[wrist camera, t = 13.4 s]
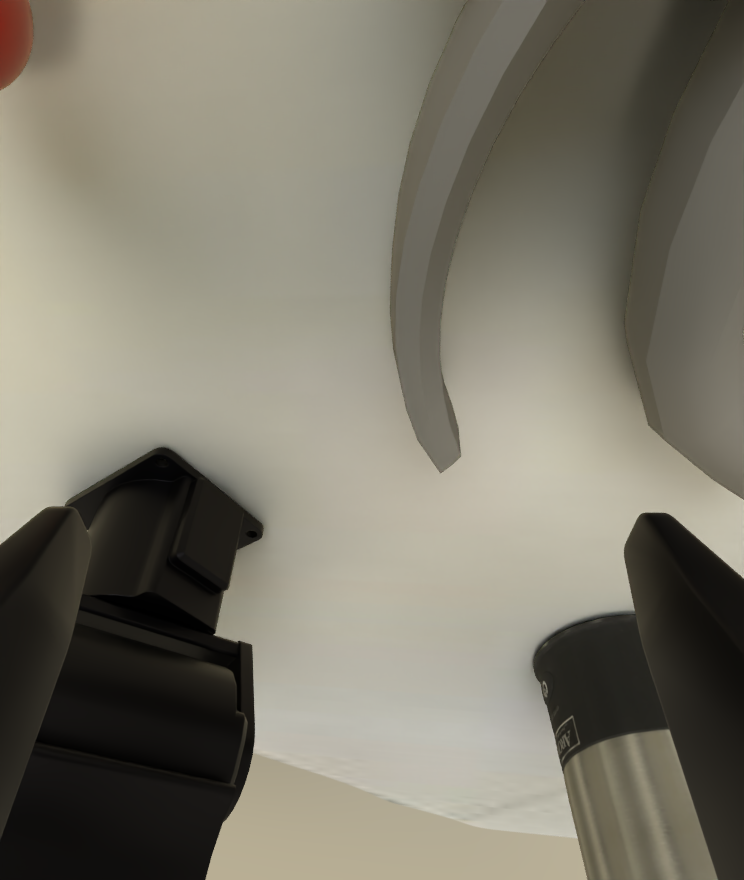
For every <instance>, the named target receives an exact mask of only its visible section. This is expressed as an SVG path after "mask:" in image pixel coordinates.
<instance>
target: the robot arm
mask: <svg viewBox="0 0 744 880" xmlns="http://www.w3.org/2000/svg"><path fill="white" fill-rule="evenodd" d="M160 458H162V459H165V460H166V461H165V460H161V459H160ZM87 530H88V532H87ZM263 530H264V528H263V525H262V524H261V523H260V522H259V521H258V520H256V519H255V518H254V517H253V516H251V515H250V514H249V513H248V512H247V511H245V510H244V509H243V508H242V507H240V506H239V505H238V504H237V503H236V502H234V501H233V500H232V499H231V498H229V497H228V496H227V495H226V494H225V493H223V492H222V491H221V490H220V489H218V488H217V487H216V486H215V485H214V484H212V483H211V482H210V481H209V480H207V479H206V478H205V477H204V476H203V475H201V474H200V473H199V472H198V471H196V470H195V469H194V468H193V467H191V466H190V465H189V464H188V463H187V462H185V461H184V460H183V459H182V458H180V457H179V456H178V455H177V454H176V453H174V452H173V451H172V450H170V449H168V448H164V447H159V448H156V449H154V450H152V451H150V452H149V453H147V454H145V455H144V456H142V457H140V458H139V459H137V460H135V461H133V462H132V463H130V464H128V465H127V466H125V467H123V468H122V469H120V470H118V471H117V472H115V473H113V474H112V475H110V476H108V477H106V478H105V479H103V480H101V481H100V482H98V483H96V484H95V485H93V486H91V487H90V488H88V489H86V490H84V491H83V492H81V493H79V494H78V495H76V496H74V497H73V498H71V499H69V500H68V501H67V502H66V504H65V506H64V507H48V508H45V509H44V510H42V511H41V512H40V513H38V514H37V515H36V516H35V517H34V518H32V519H31V520H30V521H29V522H27V523H26V524H25V525H24V526H23V527H21V528H20V529H19V530H18V531H16V532H15V533H14V534H13V535H12V536H10V537H9V538H8V539H7V540H5V541H4V542H3V543H2V544H1V545H0V880H205V879H206V875H207V871H208V867H209V863H210V859H211V856H212V853H213V850H214V847H215V844H216V841H217V838H218V835H219V832H220V829H221V826H222V823H223V822H224V821H225V820H226V819H227V818H228V816H229V815H230V813H231V812H232V811H233V809H234V807H235V805H236V803H237V801H238V799H239V797H240V795H241V792H242V789H243V787H244V785H245V781H246V778H247V775H248V772H249V768H250V764H251V759H252V755H253V748H254V739H255V718H254V686H253V654H252V645H251V644H248V643H245V642H242V641H238V642H234V641H231V640H228V639H225V638H221V637H218V636H215V635H213V634H215V632H216V627H217V623H218V618H219V613H220V608H221V603H222V599H223V594H224V591H225V590H228V588H229V585H230V580H231V575H232V570H233V565H234V560H235V555H236V551H237V550H238V549H240V548H242V547H244V546H247V545H249V544H251V543H253V542H255V541H257V540H259V539H261V538H262V535H263ZM624 558H625V564H626V569H627V574H628V579H629V583H630V588H631V593H632V598H633V603H634V608H635V613H636V618H637V623H638V628H639V633H640V637H641V641H642V646H643V649H644V652H645V656H646V659H647V662H648V665H649V668H650V672H651V675H652V678H653V681H654V684H655V687H656V690H657V693H658V696H659V699H660V702H661V706H662V709H663V712H664V715H665V718H666V721H667V724H668V727H669V730H670V733H671V737H672V740H673V743H674V746H675V749H676V752H677V755H678V758H679V761H680V764H681V767H682V771H683V774H684V777H685V780H686V783H687V786H688V789H689V792H690V795H691V798H692V801H693V805H694V808H695V811H696V814H697V817H698V820H699V823H700V826H701V829H702V832H703V835H704V839H705V842H706V845H707V848H708V851H709V854H710V857H711V860H712V863H713V866H714V870H715V873H716V876H717V879H718V880H744V579H743V578H742V577H741V576H740V575H739V574H738V573H737V572H735V571H734V570H733V569H732V568H731V567H730V566H729V565H727V564H726V563H725V562H724V561H723V560H722V559H721V558H719V557H718V556H717V555H716V554H715V553H714V552H713V551H711V550H710V549H709V548H708V547H707V546H706V545H705V544H703V543H702V542H701V541H700V540H699V539H698V538H696V537H695V536H694V535H693V534H692V533H691V532H690V531H688V530H687V529H686V528H685V527H684V526H683V525H682V524H680V523H679V522H678V521H677V520H676V519H675V518H674V517H672V516H671V515H669V514H667V513H642V514H641V515H640V516H639V517H638V518H637V520H636V523H635V525H634V527H633V529H632V531H631V533H630V535H629V537H628V539H627V541H626V544H625V548H624Z"/></svg>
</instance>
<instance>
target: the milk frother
mask: <svg viewBox="0 0 744 880" xmlns="http://www.w3.org/2000/svg"><path fill="white" fill-rule="evenodd" d="M533 668H534V672H535V676H536V678H537V679H538V681H539V682H540V683H541V688H542V694H543V697H544V701H545V704H546V705H547V708H548V712H549V716H550V720H551V724H552V728H553V732H554V735H555V740H556V745H557V751H558V755H559V759H560V763H561V766H562V771H563V774H564V779H565V784H566V789H567V793H568V798H569V803H570V807H571V811H572V816H573V820H574V824H575V828H576V832H577V836H578V841H579V845H580V849H581V853H582V858H583V862H584V866H585V870H586V875H587V879H588V880H718V879H717V876H716V873H715V870H714V866H713V863H712V860H711V857H710V854H709V851H708V848H707V845H706V842H705V839H704V835H703V832H702V829H701V826H700V823H699V820H698V817H697V814H696V811H695V808H694V805H693V801H692V798H691V795H690V792H689V789H688V786H687V783H686V780H685V777H684V774H683V771H682V767H681V764H680V761H679V758H678V755H677V752H676V749H675V746H674V743H673V740H672V737H671V733H670V730H669V727H668V724H667V721H666V718H665V715H664V712H663V709H662V706H661V702H660V699H659V696H658V693H657V690H656V687H655V684H654V681H653V678H652V675H651V672H650V668H649V665H648V662H647V659H646V656H645V652H644V649H643V646H642V641H641V637H640V633H639V628H638V623H637V618H636V615H619V616H612V617H605V618H600V619H596V620H593V621H587V622H585V623H582V624H579V625H576V626H573V627H571V628H568V629H567V630H564V631H563V632H560V633H559V634H557V635H555V636H554V637H552V638H551V639H549V640H548V641H547V642H546V643H544V644H543V646H542V647H541V648H540V650H539V651H538V653H537V654H536V657H535V659H534V665H533Z"/></svg>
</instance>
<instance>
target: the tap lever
mask: <svg viewBox="0 0 744 880" xmlns="http://www.w3.org/2000/svg"><path fill="white" fill-rule="evenodd" d="M33 36H34V35H33V17H32V12H31V7H30V3H29V0H0V90H2V89H4V88H6V87H7V86H9V85H10V84H11V83H12V82H13V81H14V80H15V79H16V78H17V77H18V76H19V75H20V74H21V72H22V71H23V69H24V68H25V66H26V64H27V62H28V59H29V56H30V53H31V50H32V44H33Z"/></svg>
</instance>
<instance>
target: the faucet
mask: <svg viewBox="0 0 744 880" xmlns="http://www.w3.org/2000/svg"><path fill="white" fill-rule="evenodd" d="M584 1H585V0H467V2H466V3H465V5H464V7H463V9H462V11H461V13H460V15H459V16H458V18H457V20H456V23H455V25H454V27H453V30H452V32H451V34H450V36H449V39H448V41H447V43H446V46H445V48H444V50H443V53H442V55H441V57H440V60H439V62H438V64H437V67H436V69H435V71H434V74H433V76H432V78H431V80H430V83H429V86H428V89H427V92H426V95H425V98H424V101H423V104H422V107H421V110H420V113H419V116H418V119H417V122H416V125H415V128H414V131H413V135H412V138H411V141H410V145H409V149H408V154H407V158H406V163H405V168H404V172H403V177H402V181H401V186H400V191H399V195H398V203H397V212H396V221H395V229H394V238H393V248H392V264H391V294H390V316H391V328H392V340H393V350H394V355H395V360H396V364H397V369H398V374H399V378H400V383H401V388H402V392H403V396H404V401H405V405H406V409H407V412H408V415H409V418H410V420H411V423H412V426H413V429H414V431H415V434H416V437H417V440H418V441H419V443H420V444H421V446H422V447H423V449H424V450H425V452H426V453H427V454H428V456H429V457H430V459H431V460H432V462H433V463H434V465H435V466H436V468H437V469H438V470H439V472H440V473H442V472H443V471H444V470H446V469H447V468H448V467H450V466H451V465H452V464H453V463H454V462H455V461H457V460H458V459H459V458H460V457H461V452H460V440H459V429H458V425H457V421H456V417H455V413H454V410H453V406H452V403H451V400H450V397H449V395H448V392H447V389H446V386H445V383H444V379H443V375H442V371H441V361H440V323H441V314H442V307H443V299H444V292H445V284H446V280H447V275H448V271H449V267H450V263H451V259H452V255H453V251H454V247H455V243H456V239H457V236H458V233H459V230H460V227H461V224H462V221H463V219H464V216H465V213H466V210H467V207H468V204H469V201H470V198H471V195H472V193H473V190H474V188H475V186H476V183H477V181H478V179H479V176H480V174H481V172H482V169H483V167H484V165H485V162H486V160H487V158H488V156H489V153H490V151H491V149H492V146H493V144H494V142H495V141H496V139H497V137H498V135H499V133H500V131H501V129H502V128H503V126H504V124H505V122H506V120H507V118H508V116H509V114H510V113H511V111H512V109H513V107H514V105H515V103H516V101H517V100H518V98H519V96H520V94H521V92H522V91H523V89H524V88H525V86H526V85H527V83H528V82H529V80H530V79H531V77H532V76H533V74H534V73H535V71H536V69H537V68H538V66H539V65H540V63H541V62H542V60H543V59H544V57H545V56H546V54H547V53H548V51H549V50H550V48H551V46H552V45H553V43H554V42H555V40H556V39H557V38H558V36H559V35H560V34H561V32H562V31H563V30H564V28H565V27H566V26H567V24H568V23H569V21H570V20H571V19H572V17H573V16H574V15H575V13H576V12H577V11H578V9H579V8H580V7H581V5H582V4H583V3H584ZM710 1H711V0H710ZM624 325H625V332H626V338H627V344H628V348H629V352H630V356H631V360H632V364H633V368H634V372H635V375H636V379H637V383H638V387H639V391H640V395H641V399H642V402H643V406H644V410H645V414H646V418H647V422H648V425H649V426H650V427H651V428H652V429H653V430H654V431H655V432H656V433H658V434H659V435H660V436H661V437H662V438H663V439H664V440H665V441H666V442H667V443H669V444H670V445H671V446H672V447H674V448H675V449H676V450H677V451H678V452H680V453H681V454H682V455H683V456H684V457H686V458H687V459H688V460H689V461H691V462H692V463H693V464H694V465H695V466H697V467H698V468H699V469H700V470H702V471H703V472H704V473H705V474H706V475H708V476H709V477H710V478H711V479H713V480H714V481H716V482H717V483H719V484H720V485H722V486H723V487H725V488H726V489H728V490H730V491H731V492H733V493H734V494H736V495H737V496H739V497H740V498H742V499H743V500H744V339H743V330H744V0H729V1H728V3H727V5H726V7H725V9H724V11H723V13H722V15H721V17H720V19H719V21H718V23H717V25H716V27H715V29H714V31H713V33H712V36H711V38H710V40H709V42H708V44H707V46H706V48H705V50H704V52H703V54H702V56H701V58H700V60H699V62H698V64H697V66H696V68H695V70H694V72H693V74H692V76H691V78H690V80H689V82H688V84H687V86H686V88H685V90H684V92H683V94H682V96H681V98H680V100H679V102H678V104H677V106H676V108H675V111H674V113H673V116H672V119H671V122H670V124H669V127H668V130H667V133H666V136H665V139H664V142H663V145H662V148H661V151H660V154H659V157H658V160H657V163H656V166H655V169H654V172H653V175H652V178H651V180H650V183H649V186H648V189H647V192H646V195H645V198H644V201H643V204H642V207H641V210H640V215H639V222H638V229H637V236H636V243H635V250H634V257H633V264H632V271H631V278H630V285H629V292H628V299H627V306H626V313H625V320H624Z"/></svg>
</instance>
